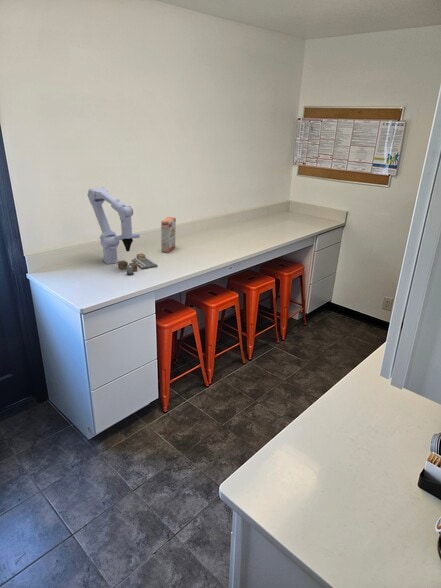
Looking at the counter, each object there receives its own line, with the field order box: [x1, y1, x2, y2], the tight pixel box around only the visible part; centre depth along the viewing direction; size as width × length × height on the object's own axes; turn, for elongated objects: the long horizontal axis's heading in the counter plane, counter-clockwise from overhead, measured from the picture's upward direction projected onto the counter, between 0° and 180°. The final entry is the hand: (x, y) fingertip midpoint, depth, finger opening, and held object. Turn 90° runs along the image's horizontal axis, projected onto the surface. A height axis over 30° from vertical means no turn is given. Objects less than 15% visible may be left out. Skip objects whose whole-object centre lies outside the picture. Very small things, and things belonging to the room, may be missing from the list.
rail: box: [131, 256, 159, 270], centre depth 241 cm, size 16×10×2 cm, turn 34°
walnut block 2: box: [128, 262, 138, 273], centre depth 230 cm, size 4×4×4 cm
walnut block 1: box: [117, 259, 129, 271], centre depth 233 cm, size 4×4×4 cm
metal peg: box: [126, 264, 134, 276], centre depth 224 cm, size 4×4×5 cm
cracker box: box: [160, 216, 177, 254], centre depth 265 cm, size 14×6×21 cm, turn 168°
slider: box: [136, 252, 146, 261], centre depth 244 cm, size 4×4×4 cm
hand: (127, 251), depth 230 cm, fingers closed
